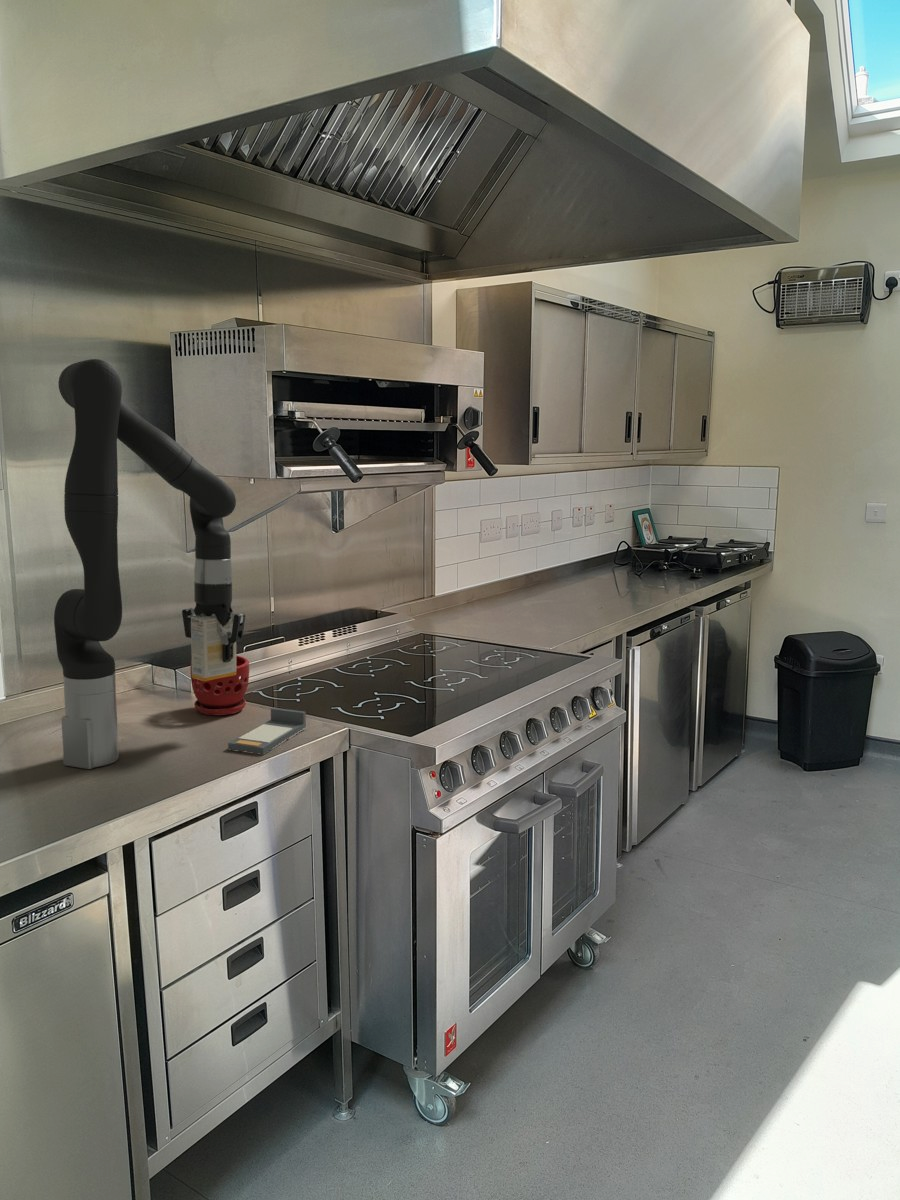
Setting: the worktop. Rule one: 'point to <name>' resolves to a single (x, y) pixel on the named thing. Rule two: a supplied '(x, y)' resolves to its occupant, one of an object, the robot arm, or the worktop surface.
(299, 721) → the plate
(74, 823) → the worktop surface
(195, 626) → the supplement box
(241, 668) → the plant pot
